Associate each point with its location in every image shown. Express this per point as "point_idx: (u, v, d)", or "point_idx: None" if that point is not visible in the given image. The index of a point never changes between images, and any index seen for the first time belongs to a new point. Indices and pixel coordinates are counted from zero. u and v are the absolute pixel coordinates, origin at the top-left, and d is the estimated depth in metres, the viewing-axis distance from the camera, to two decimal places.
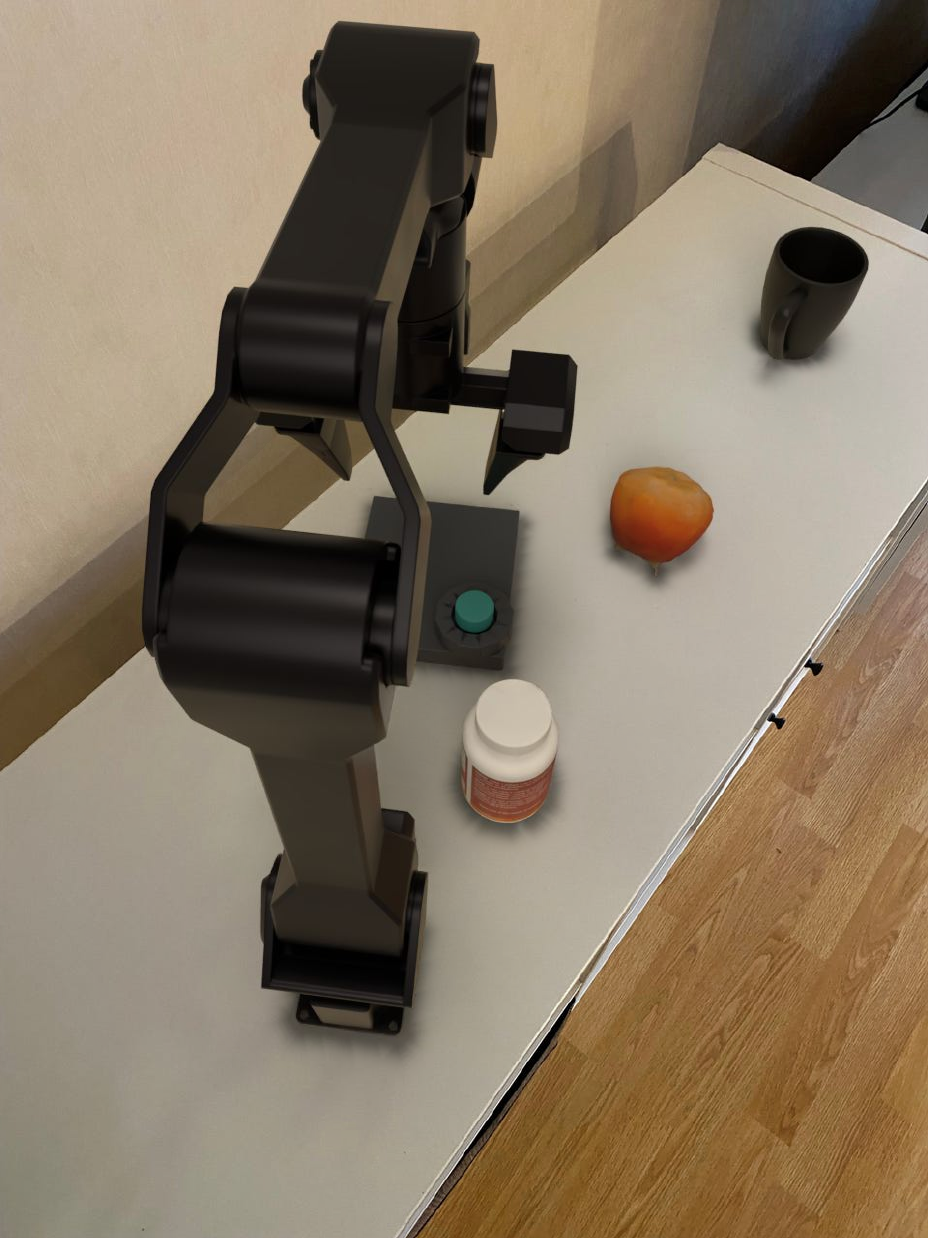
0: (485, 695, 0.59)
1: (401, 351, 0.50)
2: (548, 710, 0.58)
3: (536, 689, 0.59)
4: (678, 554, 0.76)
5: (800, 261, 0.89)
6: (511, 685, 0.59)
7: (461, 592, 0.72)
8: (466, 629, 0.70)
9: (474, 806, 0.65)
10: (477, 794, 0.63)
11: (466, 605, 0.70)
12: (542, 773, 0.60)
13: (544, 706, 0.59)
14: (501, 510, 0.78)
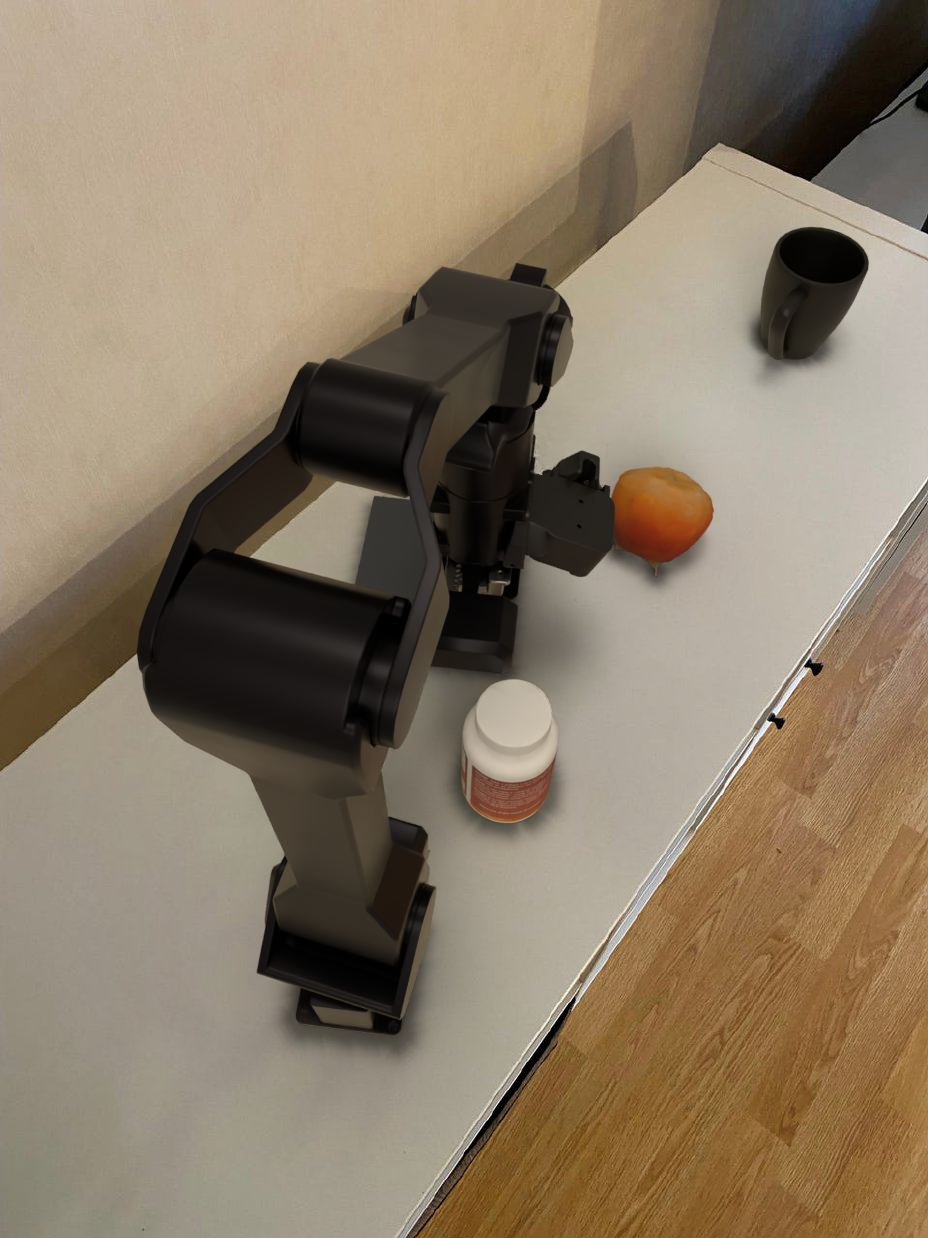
0: (485, 695, 0.59)
1: None
2: (548, 710, 0.58)
3: (536, 689, 0.59)
4: (678, 554, 0.76)
5: (800, 261, 0.89)
6: (511, 685, 0.59)
7: None
8: None
9: (474, 806, 0.65)
10: (477, 794, 0.63)
11: None
12: (542, 773, 0.60)
13: (544, 706, 0.59)
14: None
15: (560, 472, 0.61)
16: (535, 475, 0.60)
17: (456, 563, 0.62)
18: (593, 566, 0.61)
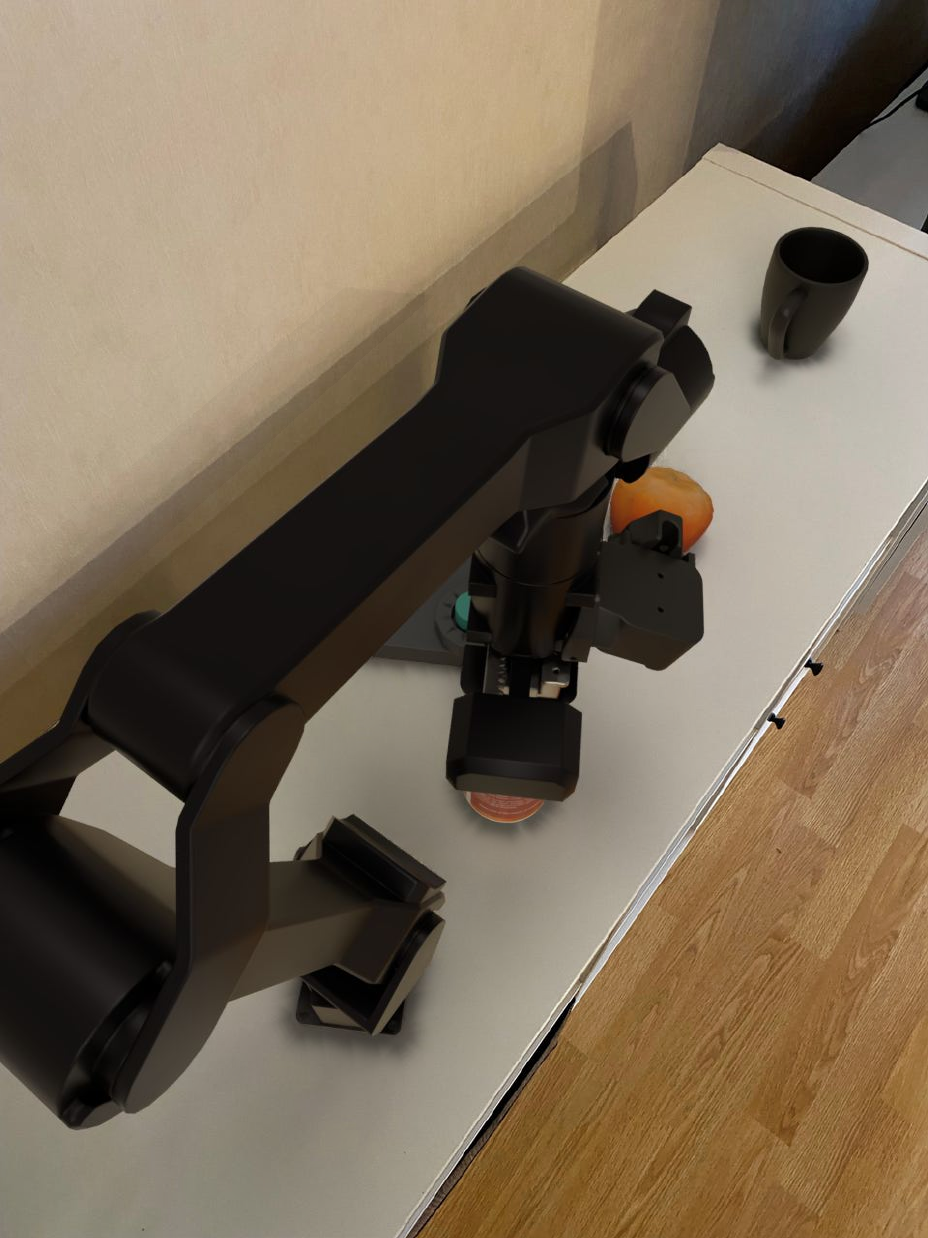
0: None
1: None
2: None
3: None
4: None
5: (800, 261, 0.89)
6: None
7: (461, 592, 0.72)
8: None
9: (474, 806, 0.65)
10: (477, 794, 0.63)
11: (466, 605, 0.70)
12: None
13: None
14: None
15: (632, 537, 0.48)
16: (602, 543, 0.47)
17: None
18: (676, 659, 0.47)
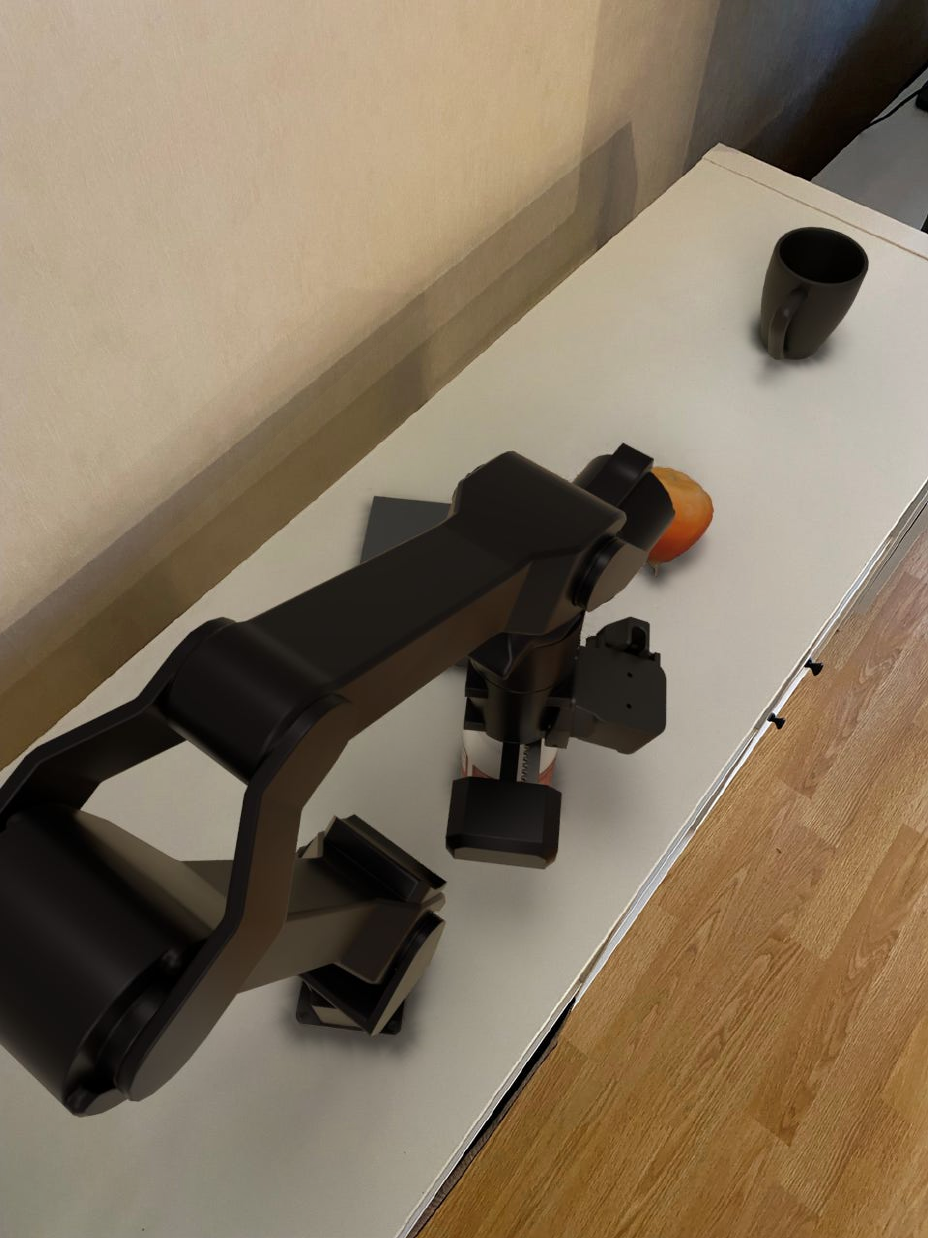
0: None
1: None
2: None
3: None
4: (678, 554, 0.76)
5: (800, 261, 0.89)
6: None
7: None
8: None
9: None
10: None
11: None
12: (542, 772, 0.60)
13: None
14: None
15: (606, 640, 0.56)
16: (580, 648, 0.55)
17: None
18: (643, 745, 0.55)
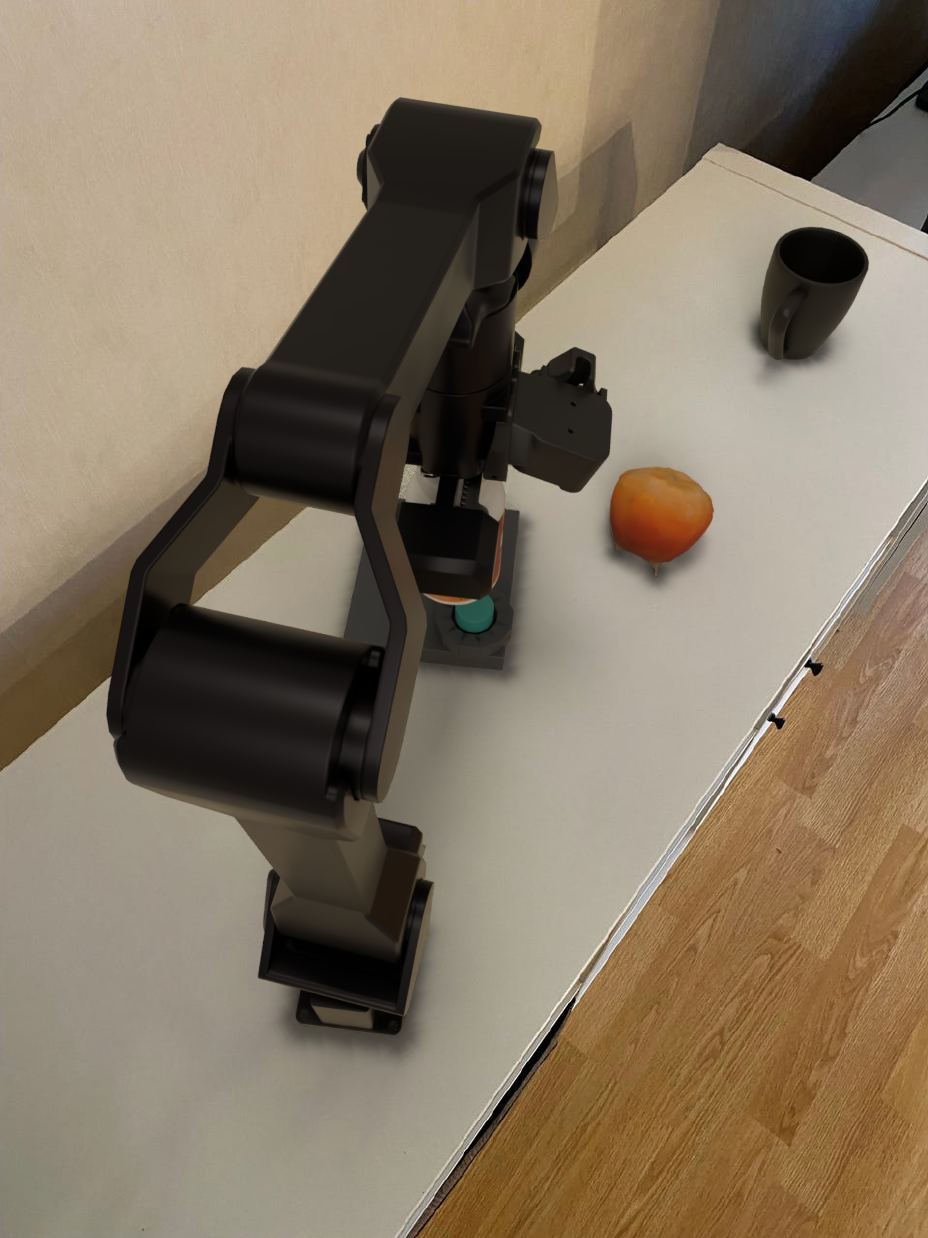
0: None
1: None
2: None
3: None
4: (678, 554, 0.76)
5: (800, 261, 0.89)
6: None
7: None
8: (466, 629, 0.70)
9: None
10: None
11: (466, 605, 0.70)
12: None
13: None
14: None
15: (550, 372, 0.54)
16: (521, 373, 0.52)
17: None
18: (587, 479, 0.53)
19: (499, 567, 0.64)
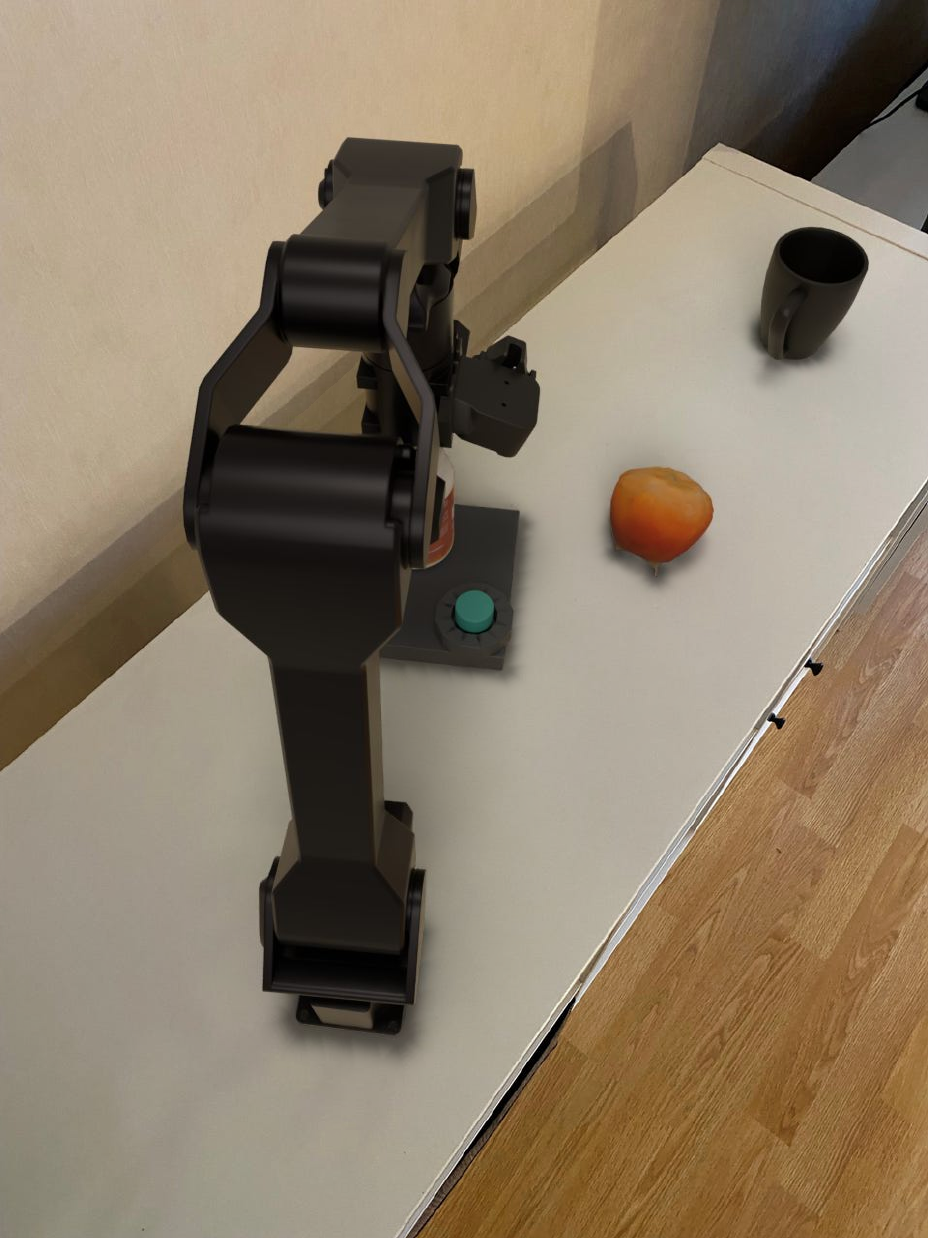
0: None
1: None
2: None
3: None
4: (678, 554, 0.76)
5: (800, 261, 0.89)
6: None
7: (461, 592, 0.72)
8: (466, 629, 0.70)
9: None
10: None
11: (466, 605, 0.70)
12: None
13: None
14: (501, 510, 0.78)
15: (488, 357, 0.64)
16: (462, 357, 0.62)
17: None
18: (519, 445, 0.63)
19: (452, 536, 0.75)
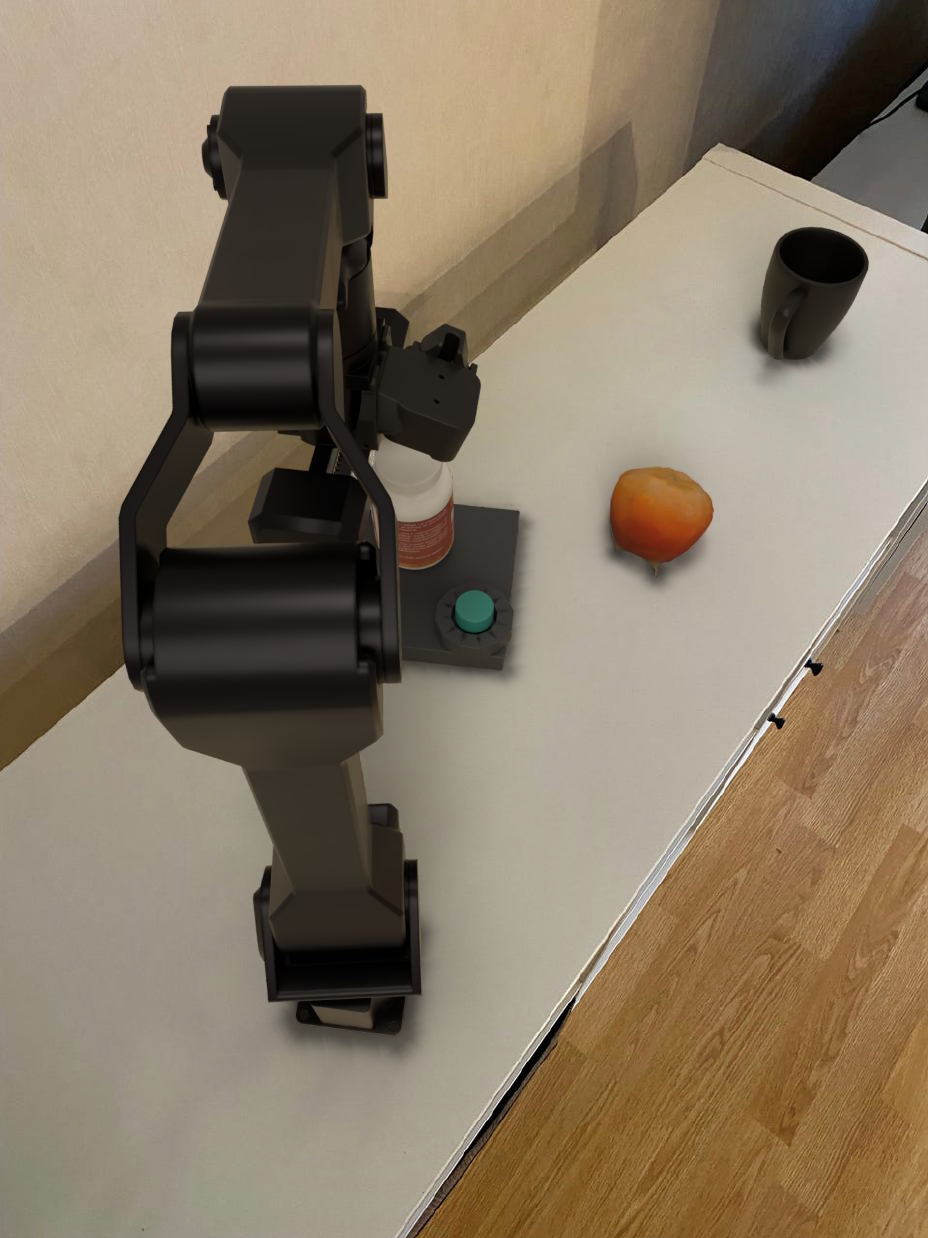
0: (383, 442, 0.67)
1: None
2: None
3: None
4: (678, 554, 0.76)
5: (800, 261, 0.89)
6: None
7: (461, 592, 0.72)
8: (466, 629, 0.70)
9: None
10: None
11: (466, 605, 0.70)
12: (437, 515, 0.69)
13: None
14: (501, 510, 0.78)
15: (422, 348, 0.56)
16: (391, 347, 0.55)
17: None
18: (455, 448, 0.55)
19: (452, 536, 0.74)
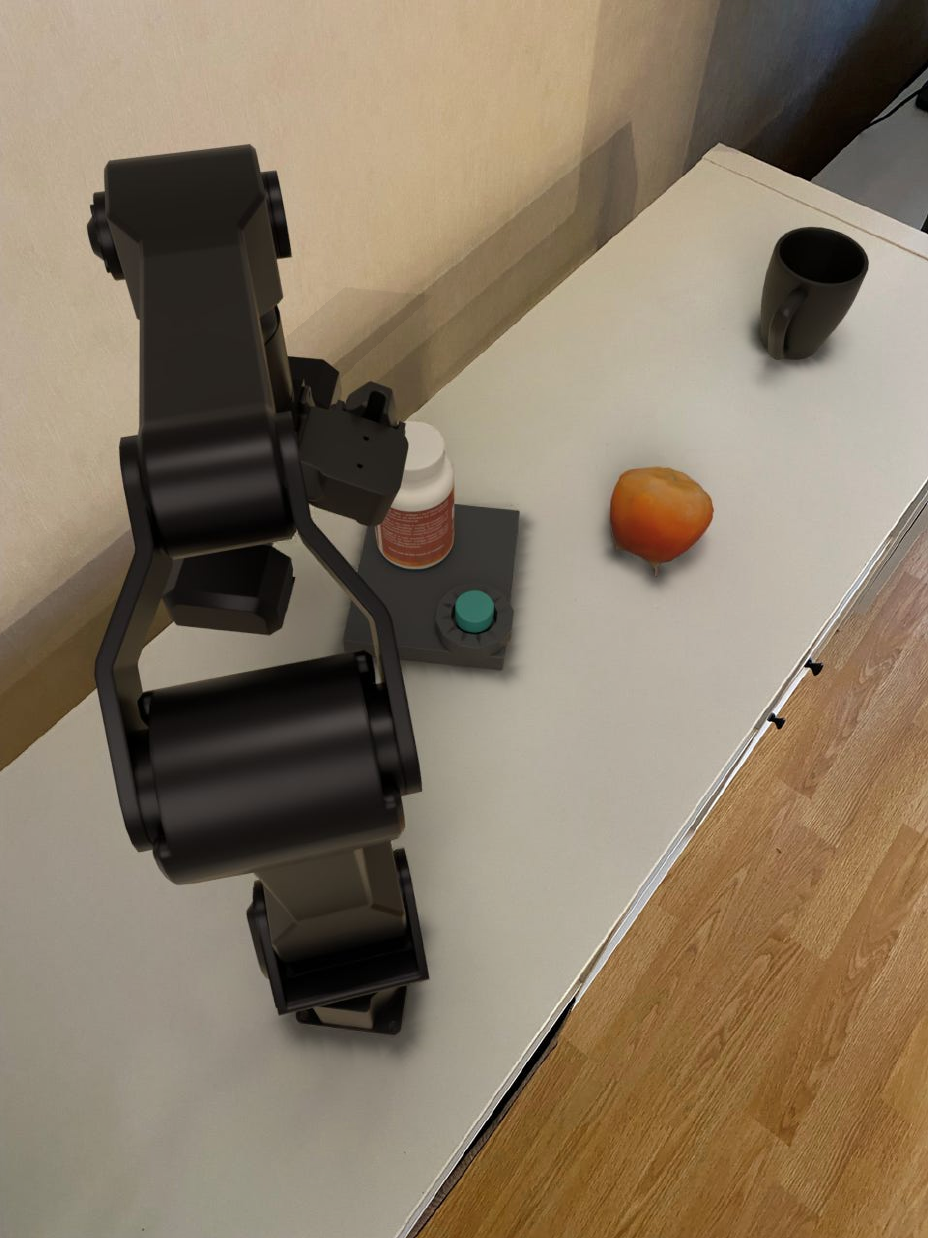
0: None
1: None
2: (440, 444, 0.67)
3: (432, 428, 0.68)
4: (678, 554, 0.76)
5: (800, 261, 0.89)
6: (410, 425, 0.68)
7: (461, 592, 0.72)
8: (466, 629, 0.70)
9: (385, 553, 0.74)
10: (386, 535, 0.72)
11: (466, 605, 0.70)
12: (438, 506, 0.69)
13: (438, 440, 0.67)
14: (501, 510, 0.78)
15: (347, 406, 0.54)
16: (312, 408, 0.52)
17: None
18: (381, 513, 0.53)
19: (452, 536, 0.75)
